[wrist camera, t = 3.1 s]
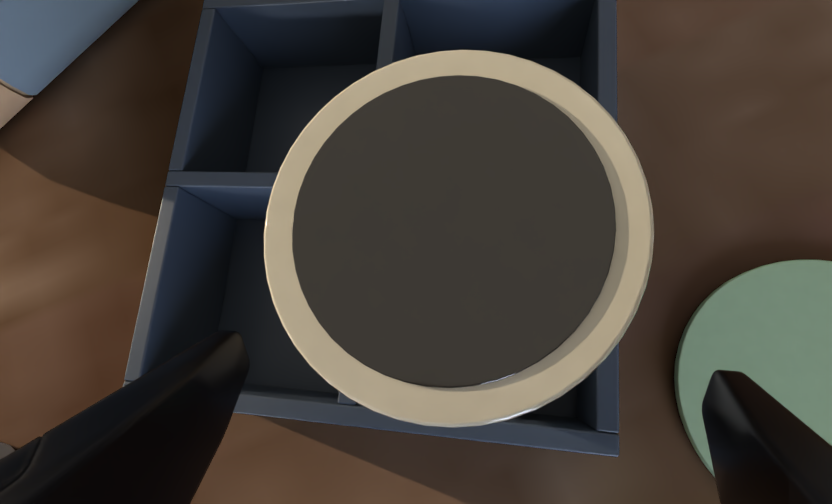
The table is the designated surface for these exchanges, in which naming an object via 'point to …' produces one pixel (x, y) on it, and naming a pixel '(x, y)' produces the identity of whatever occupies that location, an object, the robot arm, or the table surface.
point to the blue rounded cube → (46, 42)
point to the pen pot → (458, 238)
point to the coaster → (762, 344)
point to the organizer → (267, 149)
